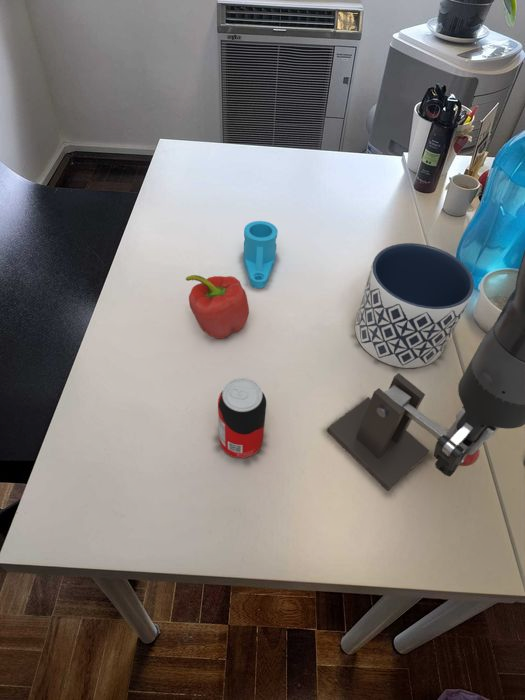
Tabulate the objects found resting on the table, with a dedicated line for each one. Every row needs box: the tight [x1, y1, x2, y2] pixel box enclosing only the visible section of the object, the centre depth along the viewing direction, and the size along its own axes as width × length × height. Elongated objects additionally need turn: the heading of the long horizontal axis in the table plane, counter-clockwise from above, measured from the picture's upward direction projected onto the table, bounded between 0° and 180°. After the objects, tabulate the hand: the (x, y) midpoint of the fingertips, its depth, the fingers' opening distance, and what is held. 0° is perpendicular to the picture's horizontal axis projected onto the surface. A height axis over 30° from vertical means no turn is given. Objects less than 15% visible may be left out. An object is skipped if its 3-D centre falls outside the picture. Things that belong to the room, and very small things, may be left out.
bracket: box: [242, 220, 278, 289], centre depth 92 cm, size 6×12×7 cm, turn 179°
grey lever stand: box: [326, 372, 430, 492], centre depth 65 cm, size 12×9×13 cm
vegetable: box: [185, 274, 250, 339], centre depth 80 cm, size 11×10×10 cm
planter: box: [354, 242, 475, 369], centre depth 79 cm, size 16×16×14 cm
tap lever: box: [384, 385, 480, 467], centre depth 59 cm, size 13×4×4 cm, turn 40°
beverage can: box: [217, 377, 267, 459], centre depth 64 cm, size 6×6×12 cm
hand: (454, 459), depth 58 cm, fingers open, 3 cm apart
